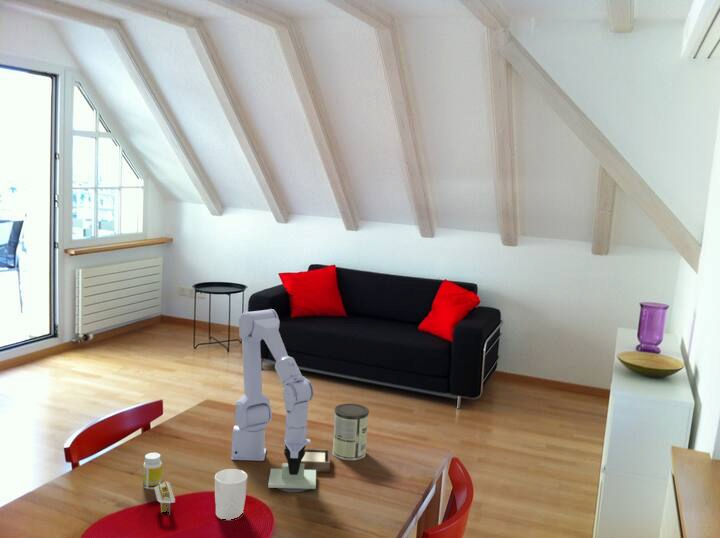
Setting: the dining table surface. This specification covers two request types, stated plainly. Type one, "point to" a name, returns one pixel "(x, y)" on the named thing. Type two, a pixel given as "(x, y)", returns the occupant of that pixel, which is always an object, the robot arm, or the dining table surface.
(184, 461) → the dining table surface
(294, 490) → the stone
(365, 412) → the coffee can
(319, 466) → the box
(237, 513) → the white cup
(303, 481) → the lid
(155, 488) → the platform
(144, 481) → the supplement bottle
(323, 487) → the dining table surface
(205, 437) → the dining table surface
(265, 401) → the robot arm
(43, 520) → the dining table surface
